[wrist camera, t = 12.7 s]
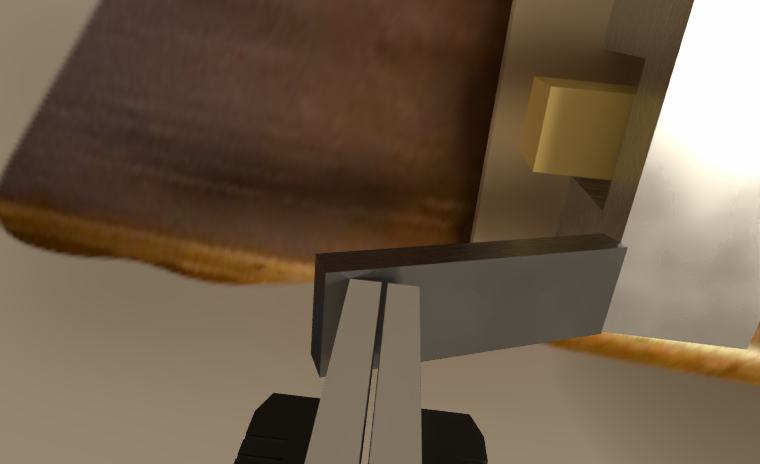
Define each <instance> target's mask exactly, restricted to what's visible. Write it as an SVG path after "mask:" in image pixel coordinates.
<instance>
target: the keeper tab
mask: <svg viewBox="0 0 760 464" xmlns="http://www.w3.org/2000/svg"><path fill="white" fill-rule="evenodd" d="M627 249H628V247H627V246H625V245H623V244H621V243H620V242H618V241H616V240H615V239H613V238H611V237H609V236H608V235H606V234H604V233H600V234H586V235H572V236H558V237H544V238H530V239H516V240H502V241H488V242H474V243H461V244H447V245H433V246H419V247H405V248H391V249H377V250H363V251H349V252H335V253H322V254H316V257H315V278H314V298H313V319H312V341H311V355H312V358H313V361H314V363H315V366H316V369H317V372H318V374H319V377H326V374H327V370H328V366H329V362H330V358H331V354H332V350H333V346H334V342H335V338H336V334H337V330H338V326H339V322H340V318H341V314H342V310H343V305H344V301H345V297H346V293H347V289H348V285H349V281H350V279H357V280H366V281H374V282H382V284H381V294H380V303H379V312H378V322H377V331H376V340H375V350H374V359H373V368H372V369H377V368H378V367H379V358H380V349H381V340H382V331H383V322H384V313H385V304H386V296H387V287H388V283H392V284H401V285H410V286H419V287H420V358H421V362H422V361H429V360H435V359H442V358H448V357H455V356H461V355H467V354H473V353H480V352H486V351H493V350H500V349H505V348H512V347H519V346H525V345H532V344H538V343H545V342H551V341H557V340H564V339H570V338H577V337H583V336H590V335H596V334H601V332H602V329H603V326H604V322H605V319H606V316H607V313H608V310H609V306H610V303H611V300H612V297H613V294H614V290H615V287H616V284H617V281H618V278H619V274H620V271H621V268H622V265H623V262H624V258H625V255H626V252H627Z"/></svg>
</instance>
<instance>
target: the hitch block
mask: <svg viewBox="0 0 760 464" xmlns="http://www.w3.org/2000/svg"><path fill="white" fill-rule="evenodd" d="M602 49H605V50H610V51H614V52H619V53H623V54H628V55H632V56H636V57H641V58H645V59H646V61H645V65H644V68H643V72H642V75H641V79H640V82H639V86H638V89H637V93H636V96H635V100H634V103H633V107H632V111H631V114H630V118H629V121H628V125H627V128H626V132H625V135H624V139H623V142H622V146H621V150H620V153H619V157H618V160H617V164H616V167H615V171H614V174H613V178H612V180H605V179H595V178H586V177H577V176H571V177H570V181H569V185H568V189H567V193H566V197H565V201H564V205H563V209H562V213H561V217H560V221H559V225H558V229H557V233H556V237H558V236H572V235H586V234H600V233H604V234H606V235H608V236H609V237H611V238H613V239H615V240H616V241H618V242H620V243H621V244H623V245H625V246H627V247H628V249H627V252H626V255H625V258H624V262H623V265H622V268H621V271H620V274H619V278H618V281H617V284H616V287H615V290H614V294H613V297H612V300H611V303H610V306H609V310H608V313H607V316H606V319H605V322H604V326H603V329H602V332H610V333H618V334H626V335H634V336H642V337H650V338H659V339H667V340H675V341H683V342H691V343H699V344H708V345H716V346H724V347H732V348H740V349H747V348H748V346H749V344H750V342H751V340H752V337H753V335H754V333H755V331H756V328H757V326H758V324H759V322H760V0H614V3H613V7H612V11H611V16H610V20H609V24H608V28H607V32H606V36H605V40H604V44H603V48H602Z"/></svg>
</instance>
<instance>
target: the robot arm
mask: <svg viewBox="0 0 760 464" xmlns="http://www.w3.org/2000/svg"><path fill="white" fill-rule="evenodd" d="M381 284H382V282H374V281H366V280H357V279H350V281H349V285H348V289H347V293H346V297H345V301H344V305H343V310H342V314H341V318H340V322H339V326H338V330H337V334H336V338H335V342H334V346H333V350H332V354H331V358H330V362H329V366H328V370H327V374H326V378H325V383H324V387H323V391H322V395H321V399H320V398H311V397H303V396H295V395H286V394H278V393H273V394H272V395H271V396H270V397H269V398H268V399H267V400H266V401H265V402H264V403H263V404H262V405H261V406H260V407H259V408H258V409H257V410H256V411H255V412H254V415H253V417H252V420H251V422H250V425H249V427H248V430H247V432H246V436H245V439H244V440H243V442H242V444H241V447H240V449H239V452H238V457H237V459H235V462H234V464H361V459H362V451H363V442H364V435H365V426H366V418H367V410H368V402H369V394H370V386H371V377H372V368H373V359H374V350H375V340H376V331H377V322H378V312H379V303H380V294H381ZM420 363H421V358H420V287H419V286H410V285H401V284H392V283H388V287H387V296H386V304H385V313H384V322H383V331H382V340H381V349H380V358H379V367H378V376H377V385H376V395H375V404H374V414H373V423H372V432H371V442H370V451H369V460H368V464H487V462H488V460H487V454H486V449H485V448H486V447H485V441H484V436H483V435H482V433H481V432H480V430H479V428H478V427H477V425H476V424H475V422H474V421H473V419H472V418H471V416H470V415H469V414H462V413H454V412H445V411H437V410H428V409H421V364H420Z"/></svg>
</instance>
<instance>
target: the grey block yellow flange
mask: <svg viewBox="0 0 760 464" xmlns="http://www.w3.org/2000/svg"><path fill="white" fill-rule="evenodd" d="M637 89H638V86H629V85H619V84H609V83H599V82H589V81H579V80H569V79H559V78H549V77H539V76H534V80H533V85H532V90H531V95H530V100H529V105H528V110H527V115H526V120H525V125H524V130H523V135H522V140H521V145H520V150H519V151H520V153H521V154H522V156H523V157H524V159H525V160H526V162H527V164H528V165H529V167H530V168H531V170H532V171H533V172H540V173H549V174H558V175H568V176H577V177H586V178H595V179H605V180H612V178H613V174H614V171H615V167H616V164H617V160H618V157H619V153H620V150H621V146H622V142H623V139H624V135H625V132H626V128H627V125H628V121H629V118H630V114H631V111H632V107H633V103H634V100H635V96H636V93H637Z"/></svg>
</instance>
